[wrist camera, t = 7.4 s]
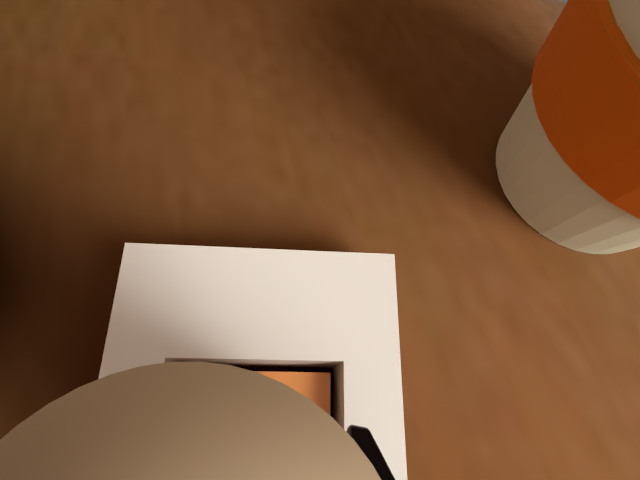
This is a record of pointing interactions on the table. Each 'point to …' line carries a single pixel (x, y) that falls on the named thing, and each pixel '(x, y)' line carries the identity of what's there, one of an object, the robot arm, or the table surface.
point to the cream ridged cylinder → (182, 431)
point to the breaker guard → (269, 322)
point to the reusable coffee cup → (580, 132)
